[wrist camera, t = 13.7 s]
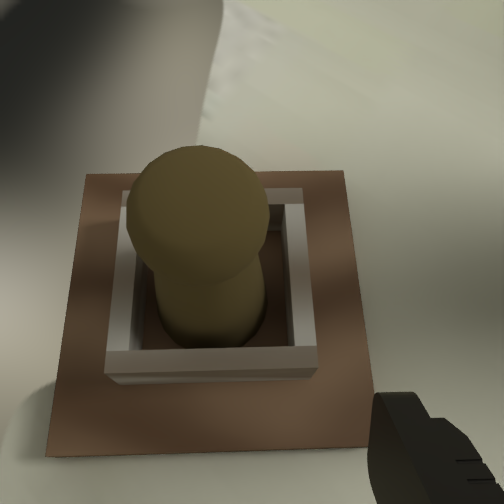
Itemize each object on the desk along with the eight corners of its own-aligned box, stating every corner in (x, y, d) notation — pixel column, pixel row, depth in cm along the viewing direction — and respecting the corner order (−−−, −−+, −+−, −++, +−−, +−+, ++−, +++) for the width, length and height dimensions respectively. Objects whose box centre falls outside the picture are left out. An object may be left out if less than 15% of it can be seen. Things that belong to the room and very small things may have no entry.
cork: (192, 378, 24) (157, 309, 14) (137, 284, 26) (72, 166, 16) (289, 315, 25) (321, 213, 15) (230, 232, 27) (223, 94, 17)
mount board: (93, 187, 30) (70, 143, 26) (338, 183, 31) (353, 139, 27) (56, 457, 23) (17, 454, 19) (373, 446, 24) (400, 441, 20)
